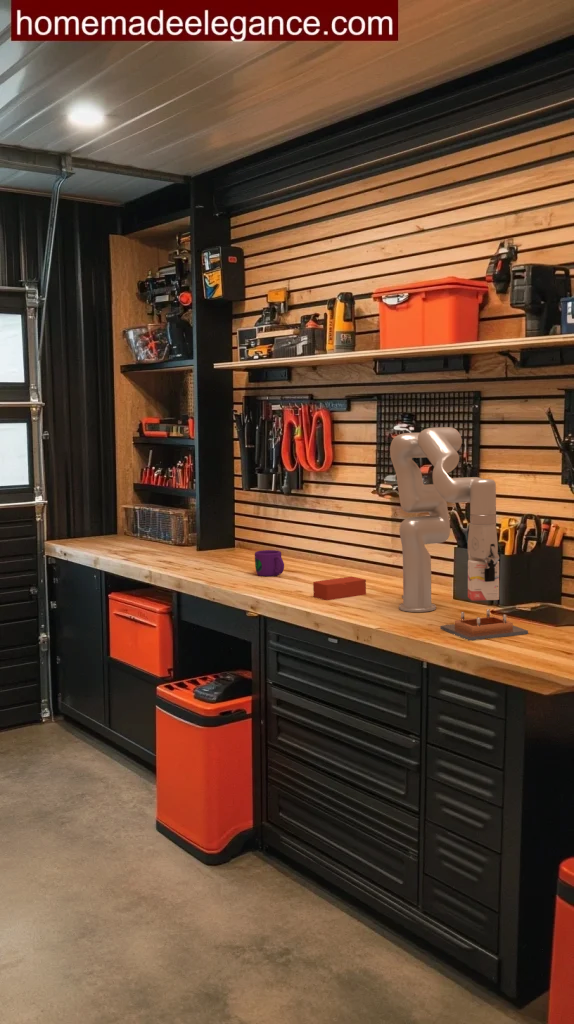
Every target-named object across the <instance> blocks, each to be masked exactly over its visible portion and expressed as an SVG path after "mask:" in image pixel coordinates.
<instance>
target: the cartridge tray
mask: <svg viewBox="0 0 574 1024" xmlns="http://www.w3.org/2000/svg"><path fill="white" fill-rule="evenodd" d="M513 623H514V622H512V621H509V620H507V614H502V618H500V617H497V616H491V609H490V608H487V609H486V616H485V617H479V616H478V617H475V618H468V619H467V618H466V619H465V611H461V612H460V619H457V620H454V624H453V623H452V624H445V625H440V626H439V628H440V630H442V631H444V632H447V633H450V634H452V635H454V634H455V635H454V636H457V637H459V636H460V637H459V638H462V639H464V638H465V639H464V640H466V639H468V640H467V641H469V640H472V641H477V640H476V639H480V640H487V639H488V638H489V639H495V638H496V639H497V638H504V637H505V638H506V637H512V636H513V637H514V636H520V635H521V636H523V635H528V634H529V630H527V629H525V628H522V627H519V626H516V625H513ZM485 638H487V639H485ZM489 639H488V640H489Z"/></svg>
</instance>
